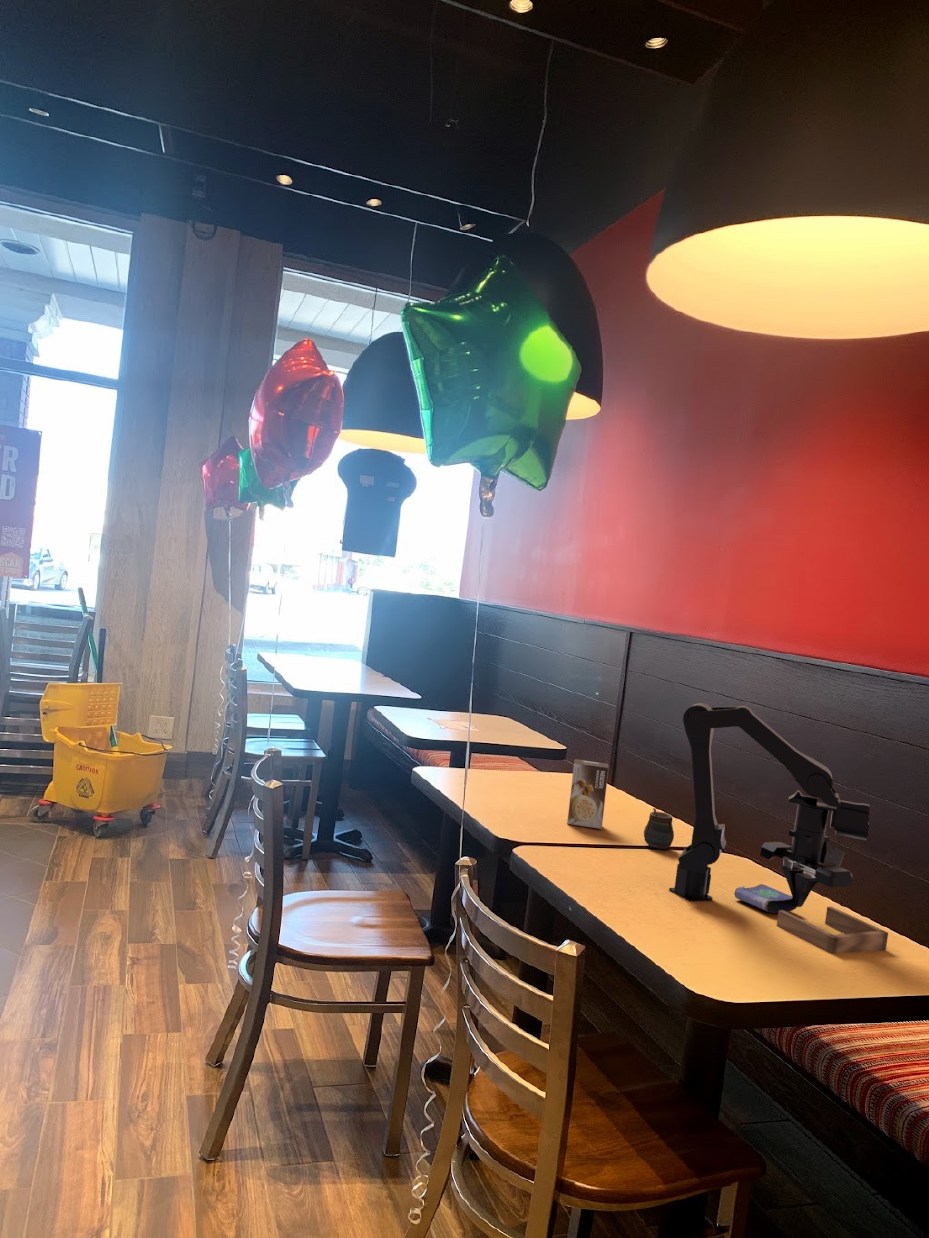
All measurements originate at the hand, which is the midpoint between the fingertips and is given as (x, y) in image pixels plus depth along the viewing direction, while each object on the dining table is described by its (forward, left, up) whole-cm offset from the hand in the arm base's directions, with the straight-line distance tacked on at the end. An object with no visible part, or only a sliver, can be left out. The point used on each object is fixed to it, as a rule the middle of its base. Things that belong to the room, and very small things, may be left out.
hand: (798, 906), depth 181 cm
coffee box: (-5, +67, -4) cm, 68 cm away
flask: (0, +4, -4) cm, 6 cm away
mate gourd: (+4, +48, -4) cm, 48 cm away
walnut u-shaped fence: (0, -8, -3) cm, 8 cm away
